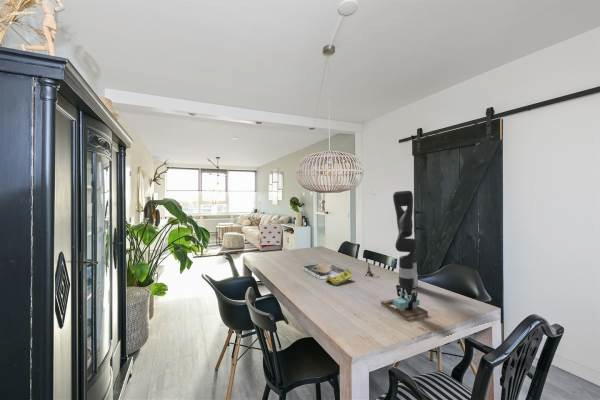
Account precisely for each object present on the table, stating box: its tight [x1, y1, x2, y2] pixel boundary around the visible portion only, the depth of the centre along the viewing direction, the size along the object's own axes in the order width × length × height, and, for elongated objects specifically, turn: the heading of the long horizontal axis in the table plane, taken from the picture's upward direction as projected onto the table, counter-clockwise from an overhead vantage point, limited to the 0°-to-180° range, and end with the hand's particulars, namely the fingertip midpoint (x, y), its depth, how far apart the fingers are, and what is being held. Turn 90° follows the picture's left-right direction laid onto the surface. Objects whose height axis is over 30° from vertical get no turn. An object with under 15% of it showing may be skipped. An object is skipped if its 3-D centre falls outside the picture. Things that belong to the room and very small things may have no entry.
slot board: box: [380, 297, 429, 321], centre depth 146 cm, size 14×20×2 cm
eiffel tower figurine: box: [365, 264, 380, 278], centre depth 212 cm, size 15×10×13 cm
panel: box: [393, 297, 420, 311], centre depth 144 cm, size 13×5×6 cm, turn 110°
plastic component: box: [325, 268, 353, 286], centre depth 199 cm, size 20×7×10 cm
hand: (406, 307), depth 144 cm, fingers closed on panel, 5 cm apart
